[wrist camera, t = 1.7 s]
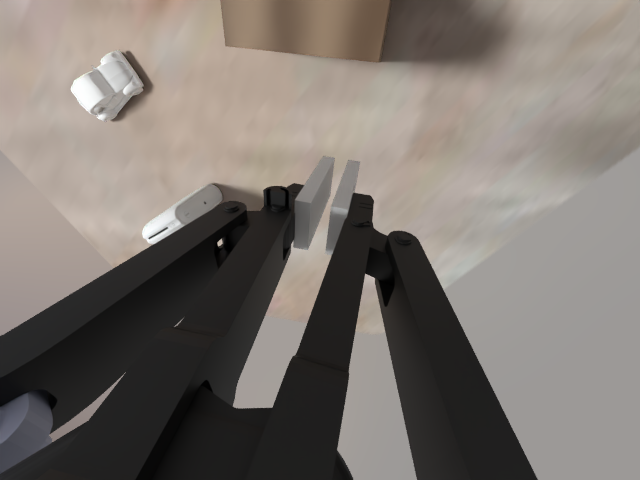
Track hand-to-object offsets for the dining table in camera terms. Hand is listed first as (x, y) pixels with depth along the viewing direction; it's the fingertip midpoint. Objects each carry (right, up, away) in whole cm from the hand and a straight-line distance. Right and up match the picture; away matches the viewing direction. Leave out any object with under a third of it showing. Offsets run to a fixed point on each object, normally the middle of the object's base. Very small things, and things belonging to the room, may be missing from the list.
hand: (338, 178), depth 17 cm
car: (-34, +20, +23) cm, 46 cm away
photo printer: (-24, +4, +32) cm, 40 cm away
